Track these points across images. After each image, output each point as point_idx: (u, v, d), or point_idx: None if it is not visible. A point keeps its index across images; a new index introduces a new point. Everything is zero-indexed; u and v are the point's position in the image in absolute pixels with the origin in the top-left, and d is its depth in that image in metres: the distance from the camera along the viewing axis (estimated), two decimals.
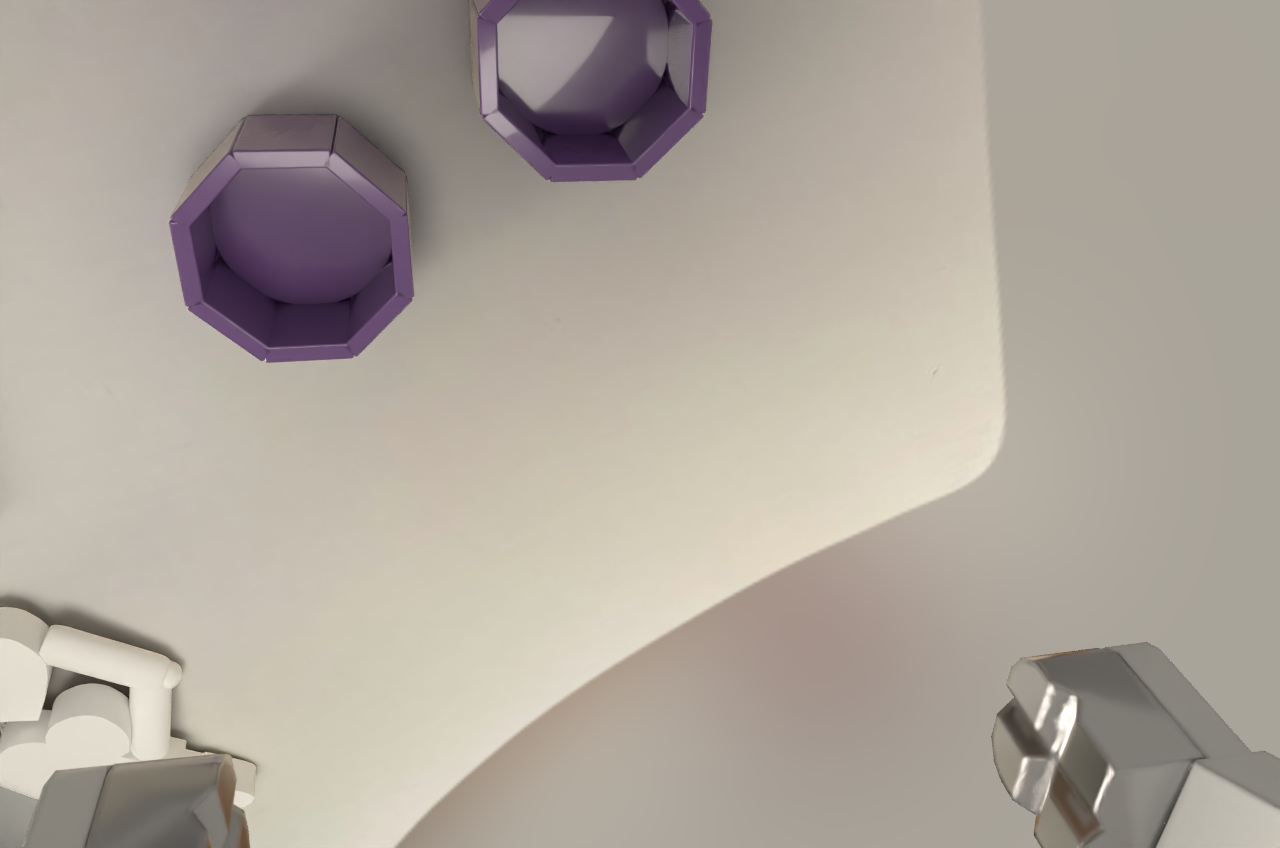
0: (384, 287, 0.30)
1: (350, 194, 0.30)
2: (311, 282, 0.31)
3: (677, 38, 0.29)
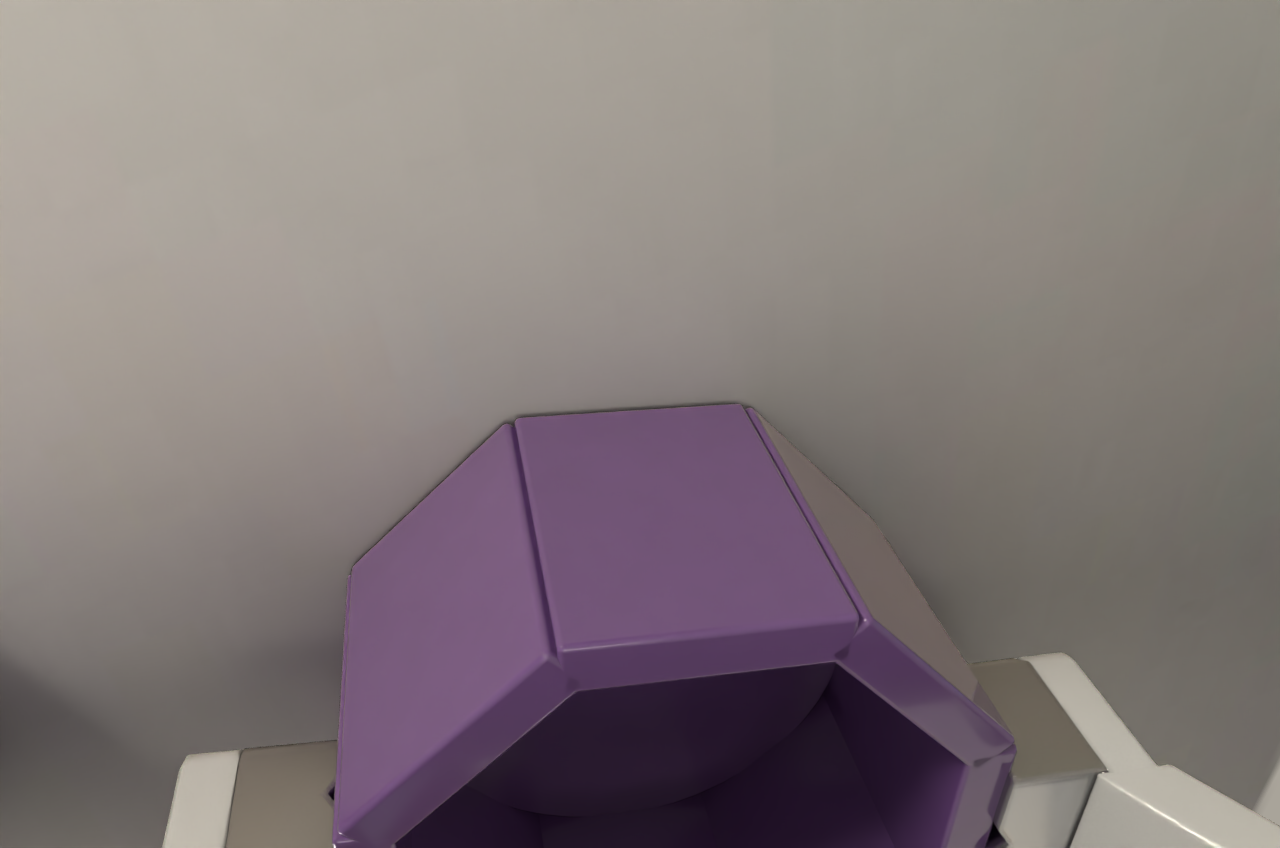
0: None
1: None
2: None
3: None
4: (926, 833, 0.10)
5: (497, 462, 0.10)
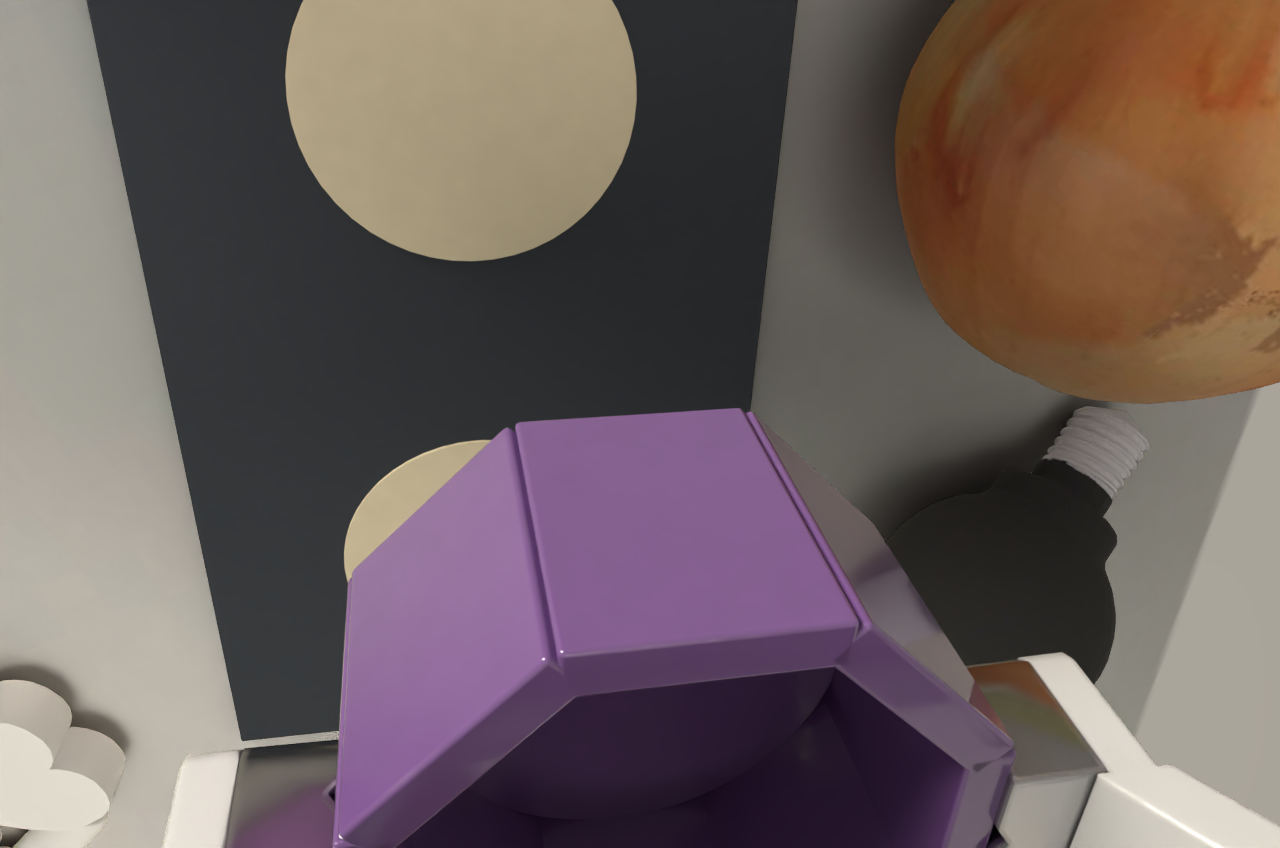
0: None
1: None
2: None
3: None
4: (927, 837, 0.10)
5: (498, 467, 0.10)
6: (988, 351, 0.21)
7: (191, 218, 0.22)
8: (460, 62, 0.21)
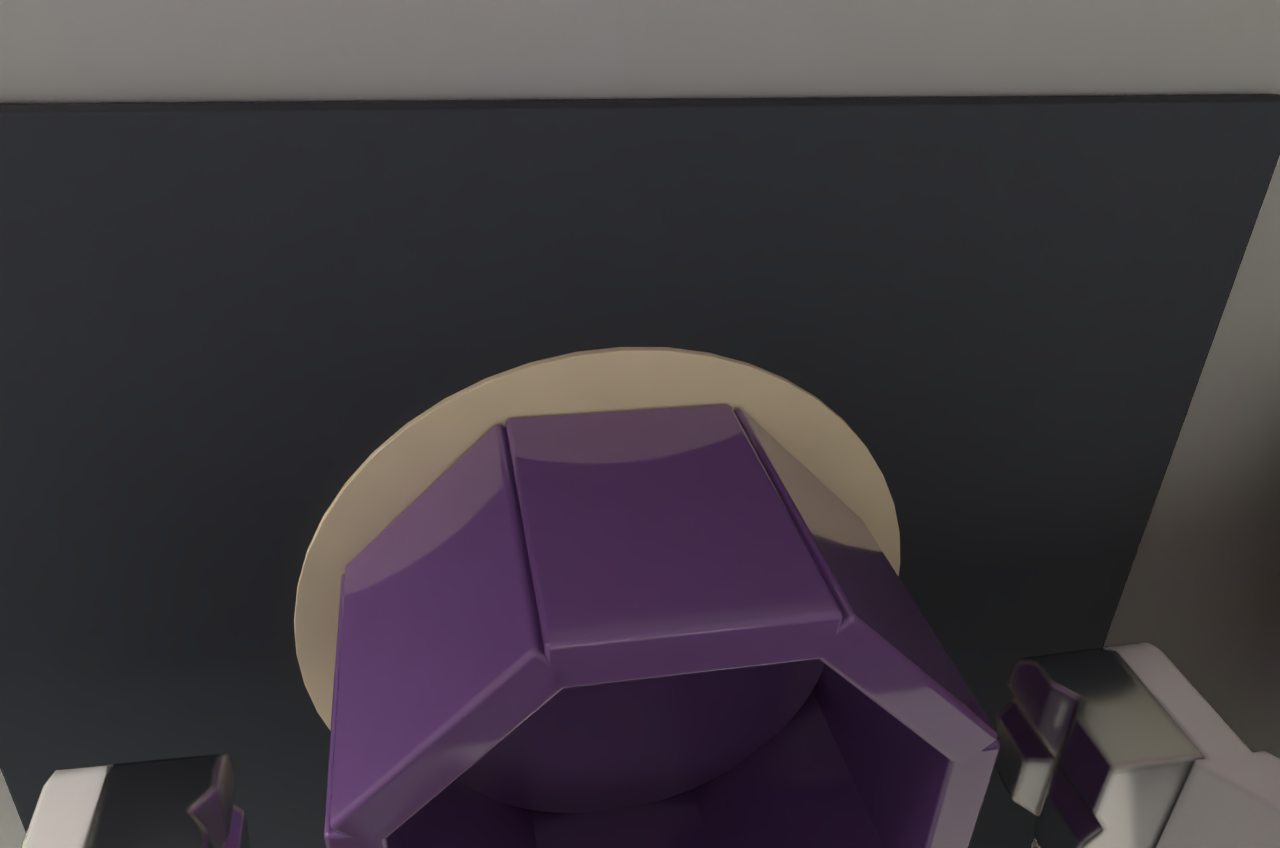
0: None
1: None
2: None
3: None
4: (913, 828, 0.10)
5: (488, 462, 0.10)
6: None
7: None
8: None
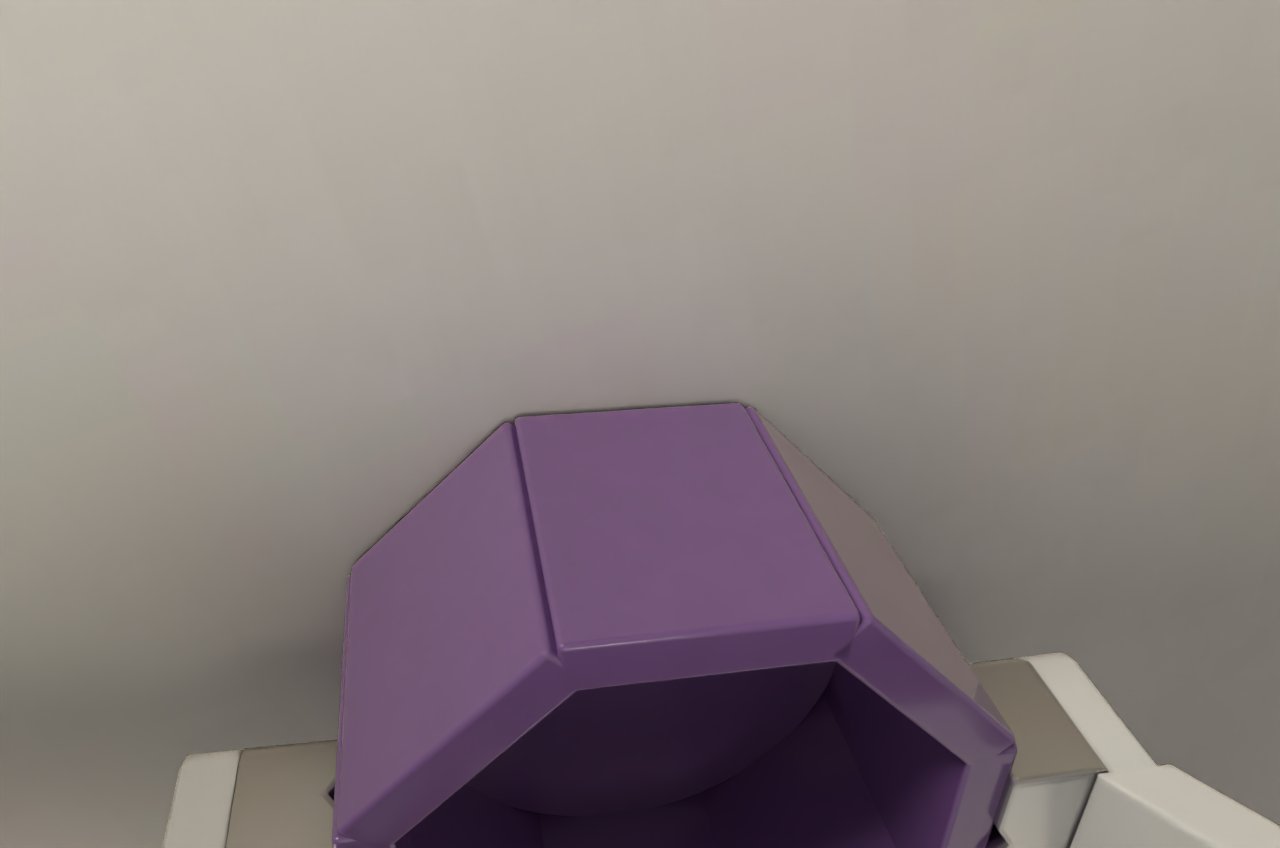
0: None
1: (696, 740, 0.13)
2: None
3: None
4: None
5: None
6: None
7: None
8: None
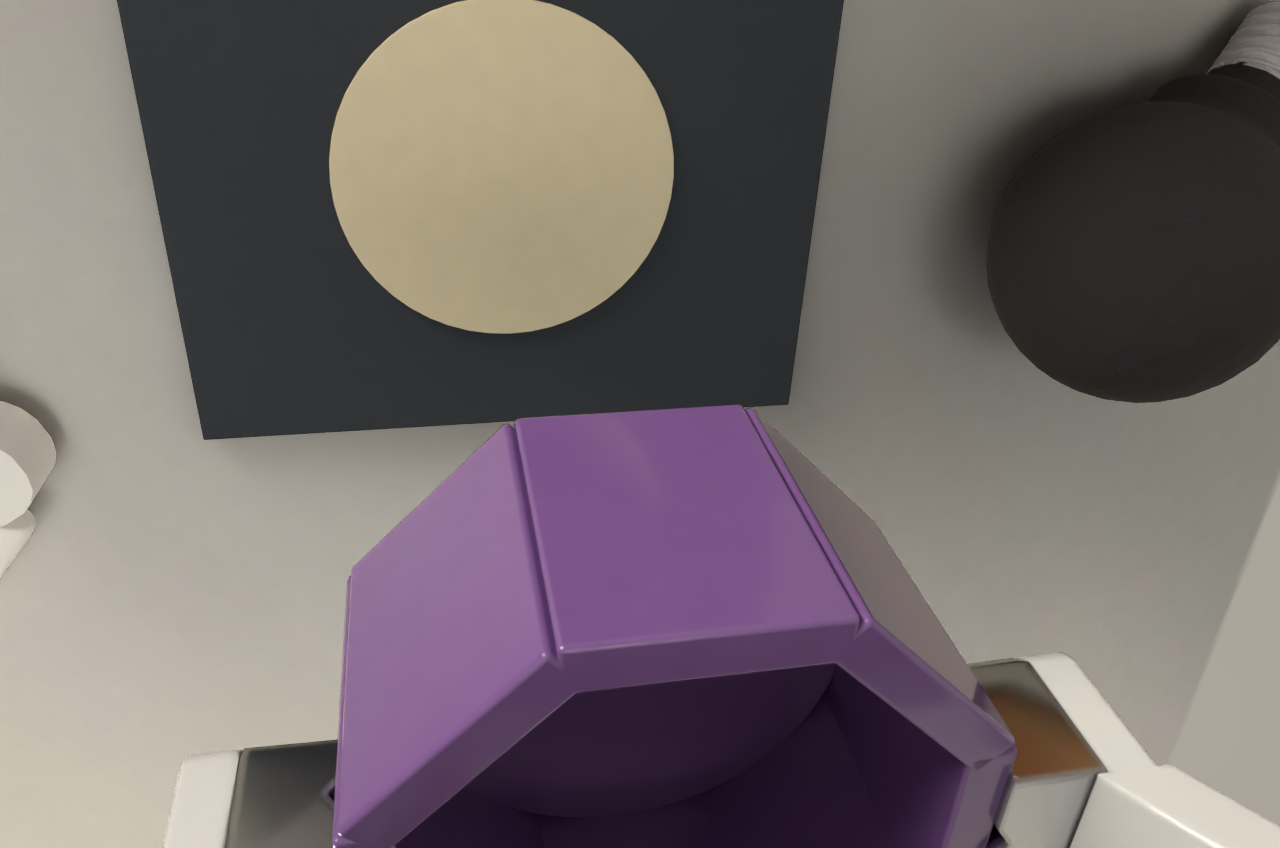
0: None
1: (695, 742, 0.13)
2: None
3: None
4: None
5: None
6: None
7: None
8: None
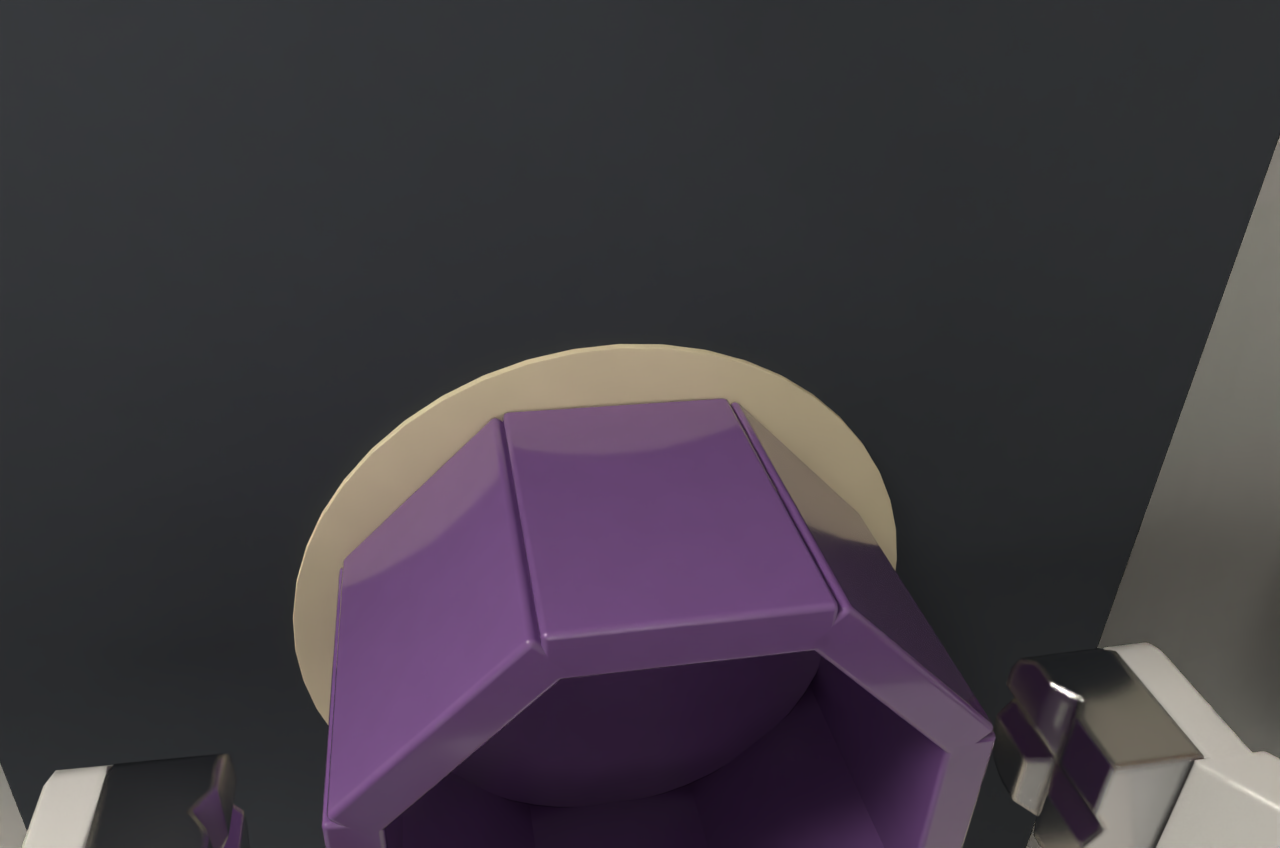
0: None
1: (684, 733, 0.13)
2: None
3: None
4: None
5: None
6: None
7: None
8: None
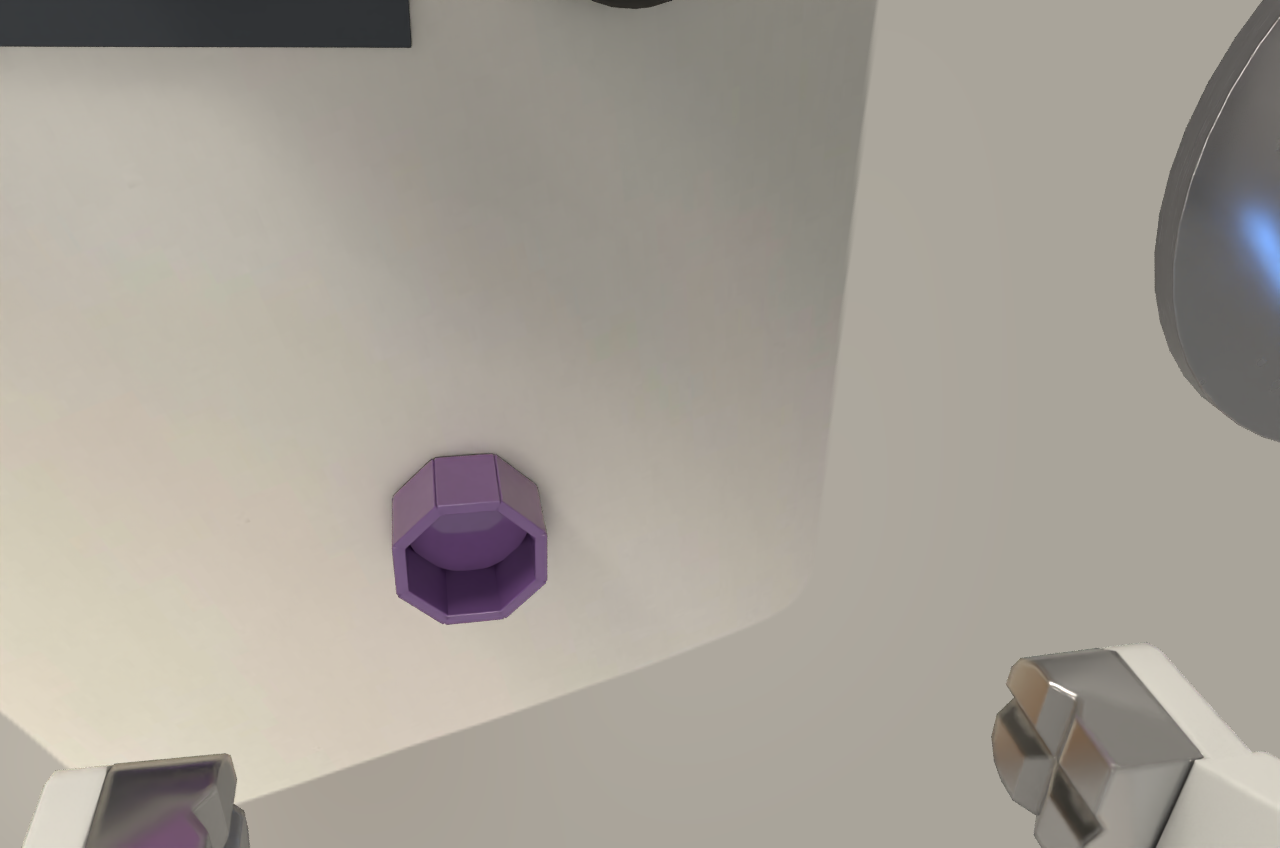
0: None
1: None
2: None
3: (481, 585, 0.44)
4: None
5: None
6: None
7: None
8: None
